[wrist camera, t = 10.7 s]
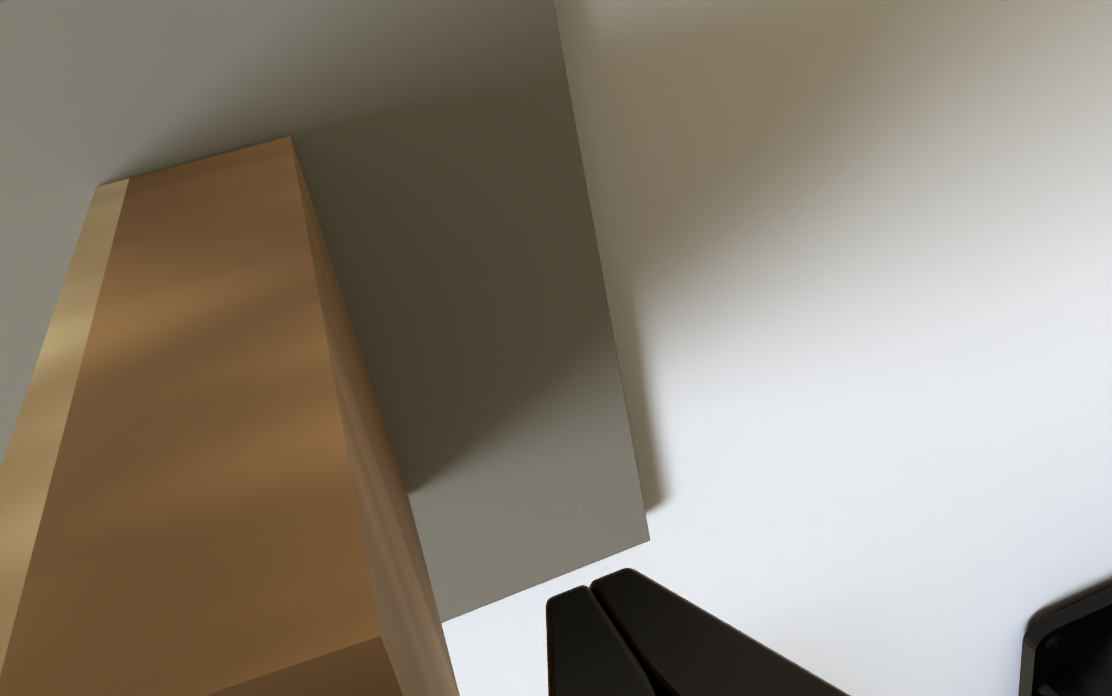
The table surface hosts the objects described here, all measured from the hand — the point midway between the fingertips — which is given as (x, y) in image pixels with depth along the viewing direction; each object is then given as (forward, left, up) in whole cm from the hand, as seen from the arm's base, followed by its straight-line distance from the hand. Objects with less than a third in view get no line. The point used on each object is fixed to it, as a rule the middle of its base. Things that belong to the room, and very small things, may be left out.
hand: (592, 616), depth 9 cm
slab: (+2, 0, -7) cm, 7 cm away
